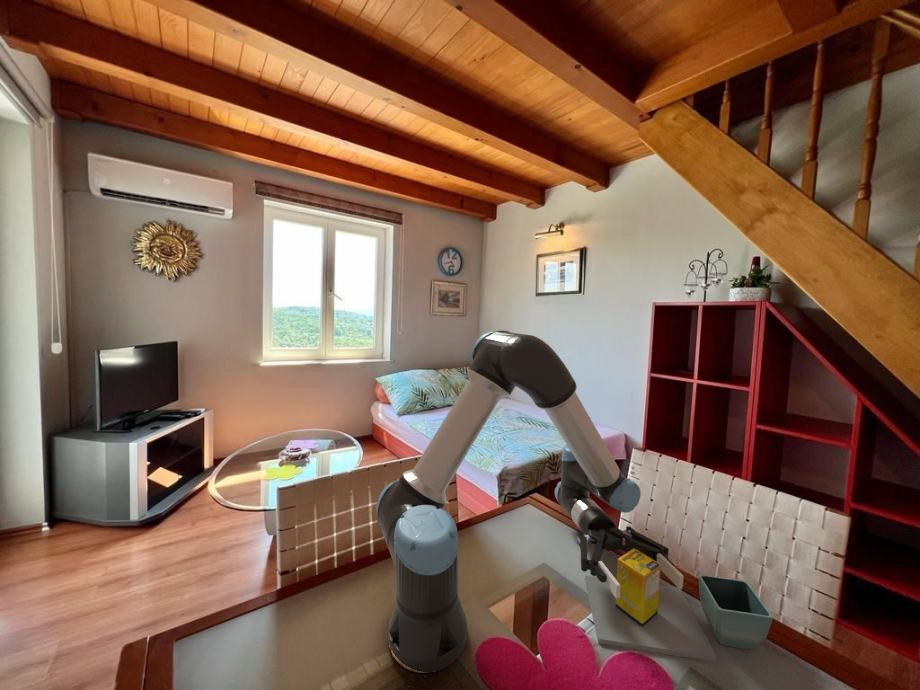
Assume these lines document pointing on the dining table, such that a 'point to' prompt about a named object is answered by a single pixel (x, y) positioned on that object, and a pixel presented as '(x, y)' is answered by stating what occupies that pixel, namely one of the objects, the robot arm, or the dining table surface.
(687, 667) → the dining table surface
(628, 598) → the supplement box
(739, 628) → the flower pot
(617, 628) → the board
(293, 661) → the dining table surface
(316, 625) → the dining table surface
